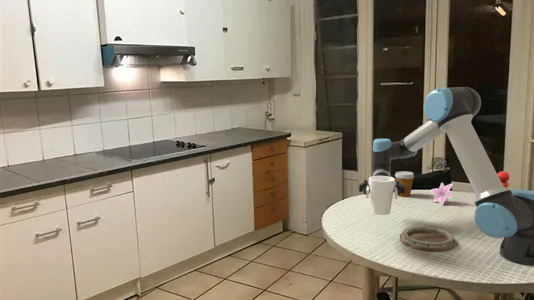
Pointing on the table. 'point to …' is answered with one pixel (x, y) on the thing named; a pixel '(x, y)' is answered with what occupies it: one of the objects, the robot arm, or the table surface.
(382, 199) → the foam cup
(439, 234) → the plate
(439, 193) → the lily
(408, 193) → the disposable coffee cup
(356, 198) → the table surface
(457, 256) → the table surface
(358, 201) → the table surface
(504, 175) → the stacking toy
